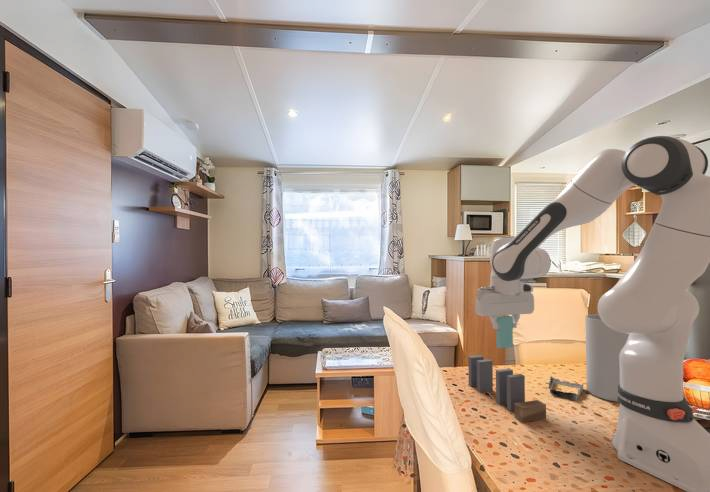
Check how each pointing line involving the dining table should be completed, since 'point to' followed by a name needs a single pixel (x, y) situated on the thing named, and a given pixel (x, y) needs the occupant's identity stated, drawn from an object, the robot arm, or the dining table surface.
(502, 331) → the teal domino
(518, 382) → the domino
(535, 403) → the end block
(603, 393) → the cylinder vase
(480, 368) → the domino
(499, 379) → the domino
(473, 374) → the domino
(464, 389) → the dining table surface
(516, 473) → the dining table surface
